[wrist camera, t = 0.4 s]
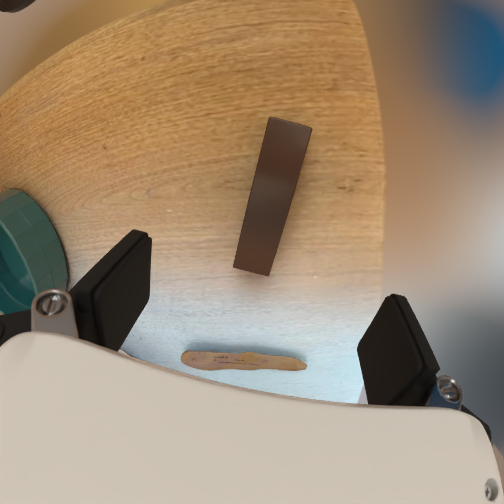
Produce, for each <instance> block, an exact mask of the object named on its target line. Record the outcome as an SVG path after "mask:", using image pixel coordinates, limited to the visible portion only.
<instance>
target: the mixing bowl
mask: <svg viewBox="0 0 504 504" xmlns="http://www.w3.org/2000/svg"><path fill="white" fill-rule="evenodd" d="M67 278H68V275H67V268H66V260H65V256H64V253H63V250H62V247H61V244H60V241H59V238H58V236H57V234H56V232H55V230H54V228H53V226H52V224H51V222H50V220H49V218H48V217H47V216H46V214H45V213H44V212H43V211H42V209H41V208H40V207H39V205H38V204H37V203H36V202H35V201H34V200H33V199H32V198H30V197H29V196H28V195H27V194H25V193H24V192H22V191H19V190H15V189H11V188H10V189H7V190H5V191H2V192H0V313H2V315H4V314H9V313H14V312H19V311H24V310H29V309H31V305H32V301H33V299H34V298H35V296H37V295H38V294H39V293H40V292H42V291H44V290H48V289H61V290H64V291H66V285H67Z"/></svg>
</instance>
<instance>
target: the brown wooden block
mask: <svg viewBox="0 0 504 504" xmlns="http://www.w3.org/2000/svg"><path fill="white" fill-rule="evenodd" d="M311 132H312V128H310V127H308V126H304V125H301V124H297V123H294V122H290V121H286V120H282V119H278V118H274V117H269V119H268V123H267V127H266V131H265V135H264V139H263V143H262V147H261V151H260V155H259V159H258V163H257V168H256V172H255V176H254V180H253V184H252V188H251V192H250V196H249V200H248V205H247V209H246V213H245V217H244V221H243V226H242V230H241V234H240V238H239V242H238V247H237V251H236V255H235V260H234V264H233V268H237V269H241V270H245V271H249V272H253V273H257V274H261V275H265V276H269V274H270V271H271V268H272V264H273V261H274V258H275V255H276V251H277V248H278V245H279V242H280V238H281V235H282V232H283V228H284V225H285V222H286V218H287V215H288V212H289V208H290V205H291V202H292V198H293V195H294V191H295V188H296V185H297V181H298V178H299V174H300V171H301V167H302V164H303V160H304V157H305V153H306V150H307V146H308V142H309V139H310V135H311Z"/></svg>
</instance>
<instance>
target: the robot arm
mask: <svg viewBox="0 0 504 504" xmlns="http://www.w3.org/2000/svg"><path fill="white" fill-rule="evenodd" d="M151 248H152V238H150V237H148V233H146V232H142V231H139V230H135V229H133V230H132V231H131V232H129V233H128V234H127V235H126V236H125V237H124V238H123V239H122V240H121V241H120V242H119V243H117V244H116V245H115V246H114V247H113V248H112V249H111V250H110V251H109V252H108V253H107V254H106V255H105V256H104V257H103V258H102V259H101V260H100V261H99V262H98V263H97V264H96V265H95V266H94V267H93V268H92V269H91V270H90V271H89V272H88V273H87V274H86V275H85V276H84V277H83V278H82V279H81V280H80V281H79V282H78V283H77V284H76V285H75V286H74V287H73V288H72V289H71V290H70V291H69V292H66V291H64V290H61V289H48V290H44V291H42V292H40V293H39V294H38V295H37V296H35V298H34V299H33V301H32V305H31V309H29V310H24V311H19V312H14V313H9V314H4V315H0V504H504V457H503V456H502V454H501V453H500V452H499V450H498V449H497V447H496V446H495V444H494V443H492V444H491V431H490V428H489V426H488V425H487V424H486V423H484V422H483V421H482V420H481V419H479V418H478V417H477V416H476V415H474V414H473V413H472V412H470V411H469V410H468V409H467V408H466V407H464V406H463V405H462V402H463V391H462V388H461V386H460V385H459V384H458V382H457V381H456V380H455V379H453V378H452V377H450V376H447V375H441V376H439V377H438V378H437V377H436V373H437V372H438V371H439V370H440V367H439V365H438V363H437V360H436V358H435V356H434V354H433V351H432V349H431V347H430V345H429V343H428V341H427V339H426V337H425V335H424V332H423V330H422V328H421V326H420V324H419V322H418V320H417V318H416V316H415V314H414V312H413V311H412V308H411V306H410V305H409V303H408V301H407V299H406V297H404V296H401V295H397V294H391V295H390V296H387V297H386V298H385V300H384V302H383V303H382V305H381V307H380V308H379V310H378V312H377V314H376V315H375V317H374V319H373V321H372V322H371V324H370V326H369V327H368V329H367V331H366V332H365V334H364V335H363V337H362V339H361V340H360V342H359V344H358V347H357V352H358V357H359V361H360V366H361V371H362V375H363V380H364V385H365V390H366V395H367V400H368V405H366V404H353V403H342V402H332V401H323V400H315V399H307V398H300V397H293V396H286V395H280V394H274V393H269V392H263V391H258V390H253V389H248V388H243V387H238V386H234V385H229V384H225V383H221V382H216V381H212V380H208V379H204V378H200V377H197V376H193V375H189V374H186V373H182V372H179V371H175V370H172V369H168V368H165V367H162V366H159V365H156V364H152V363H149V362H146V361H143V360H140V359H137V358H134V357H131V356H128V355H125V354H122V353H119V352H118V351H119V349H120V347H121V346H122V344H123V342H124V341H125V339H126V337H127V335H128V334H129V332H130V330H131V329H132V327H133V325H134V324H135V322H136V320H137V319H138V317H139V316H140V314H141V312H142V311H143V309H144V307H145V306H146V304H147V302H148V300H149V296H150V269H151Z"/></svg>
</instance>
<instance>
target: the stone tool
mask: <svg viewBox="0 0 504 504" xmlns="http://www.w3.org/2000/svg"><path fill="white" fill-rule="evenodd" d="M181 362H182V363H184V364H185V365H188V366H190V367H193V368H196V369H201V370H221V369H241V370H256V369H278V370H289V371H297V370H304V369H306V367H307V365H306V364H305V363H303V362H302V361H300V360H298V359H296V358H292V357H285V356H275V355H265V354H258V353H253V352H244V353H239V354H233V353H225V352H215V351H188V350H187V351H185V352H184V353H183V354H182V356H181Z"/></svg>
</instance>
